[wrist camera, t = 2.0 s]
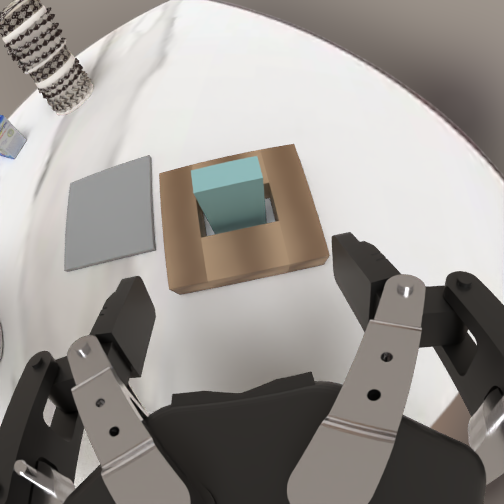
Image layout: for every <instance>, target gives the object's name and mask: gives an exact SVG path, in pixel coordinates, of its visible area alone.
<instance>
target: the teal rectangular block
mask: <svg viewBox="0 0 504 504" xmlns="http://www.w3.org/2000/svg"><path fill="white" fill-rule="evenodd" d="M191 176H192V185H193V193H194V195H195V197H196V199H197V201H198V203H199V205H200V206H201V208H202V210H203V212H204V214H205V216H206V218H207V220H208V221H209V223H210V225H211V227H212V229H213V231H214V233H215V234H220V233H224V232H229V231H234V230H238V229H243V228H248V227H252V226H257V225H262V224H266V213H265V199H264V185H263V176H262V172H261V168H260V165H259V161H258V157H257V156H254V157H249V158H244V159H239V160H234V161H229V162H225V163H220V164H216V165H212V166H207V167H203V168H199V169H195V170H191Z"/></svg>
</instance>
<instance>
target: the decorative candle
mask: <svg viewBox="0 0 504 504" xmlns="http://www.w3.org/2000/svg"><path fill="white" fill-rule="evenodd" d="M50 10H51V8H47V9H46V8H45V6H44V5H42V3H41V1H40V0H14V1H12V2H11V3H10V4H9V5H7V6H6V7H5V8H4V9H3V10H1V12H0V34H1V35H2V39H3V40H4V42H5V43H6V44H5V47H9V48H8V50H7V52H8V55H11V54H12V60H13V61H14V60H16V61H18V60H19V62H18V65H19V68H22V70H23V73H24V72H25V73H26V74H28V73H29V74H30V76H31V77H32V78H33V79H34V82H35V84H36V85H37V87H38V90H39V93H42V95H43V98H46V99H47V102H48V104H49V105H51V106H52V109H53V110H54V111H56V113H57V114H58V115H61V116H63V115H66V114H69V113H71V112H73V111H74V110H76V109H77V108H78V107H80V106H81V105H82V104H83V103H84V102H85V101H86V100H87V99H88V98H89V97H90V95H91V93H92V91H93V84H92V83H91V82H90V81H91V79H88V78H89V77H86V76H87V73H85V71H82V68H83V67H82V66H81V65H80V64H78V63H79V60H78V59H77V58H74V56H73V54H72V53H71V52H69V50H68V48H67V47H66V45H65V43H66V39H65V38H60V37H59V35H60V34H61V32H62V30H61V29H58V30H57V31H56V30H55V29H56V28H57V27H58V25H59V23H53V24H52V23H51V19H53V18H54V16H55V14H50V15H49V16H47V13H49V12H50ZM16 55H17V56H16Z"/></svg>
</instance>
